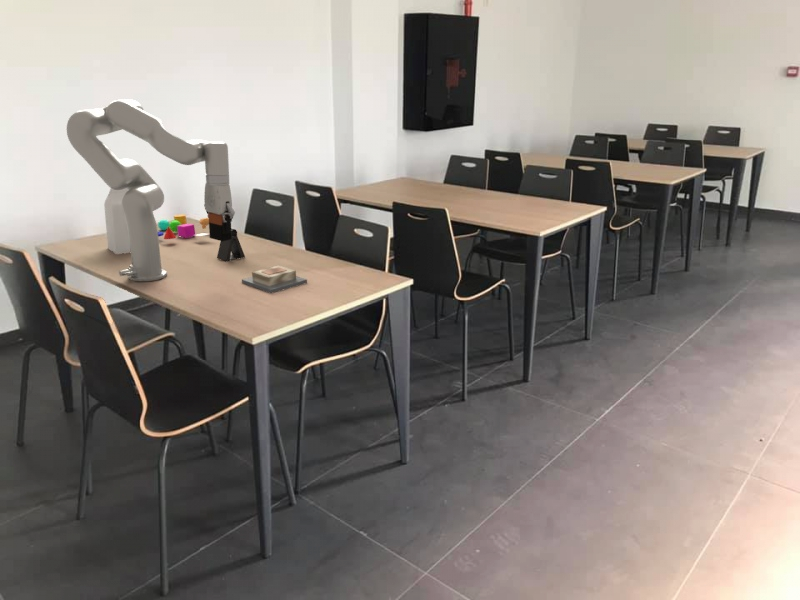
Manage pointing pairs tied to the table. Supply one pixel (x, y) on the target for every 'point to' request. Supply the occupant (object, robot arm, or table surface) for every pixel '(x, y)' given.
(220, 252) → the phone stand
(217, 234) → the battery
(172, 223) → the shape set
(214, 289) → the table surface
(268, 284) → the plinth
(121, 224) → the milk
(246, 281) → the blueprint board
